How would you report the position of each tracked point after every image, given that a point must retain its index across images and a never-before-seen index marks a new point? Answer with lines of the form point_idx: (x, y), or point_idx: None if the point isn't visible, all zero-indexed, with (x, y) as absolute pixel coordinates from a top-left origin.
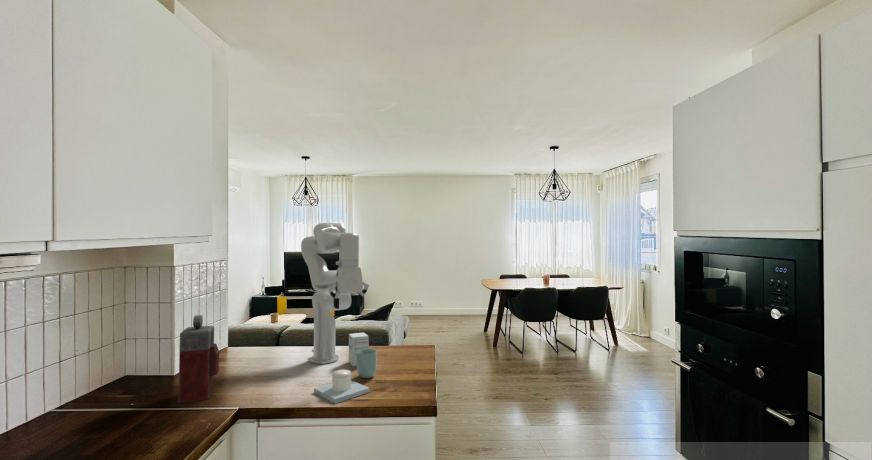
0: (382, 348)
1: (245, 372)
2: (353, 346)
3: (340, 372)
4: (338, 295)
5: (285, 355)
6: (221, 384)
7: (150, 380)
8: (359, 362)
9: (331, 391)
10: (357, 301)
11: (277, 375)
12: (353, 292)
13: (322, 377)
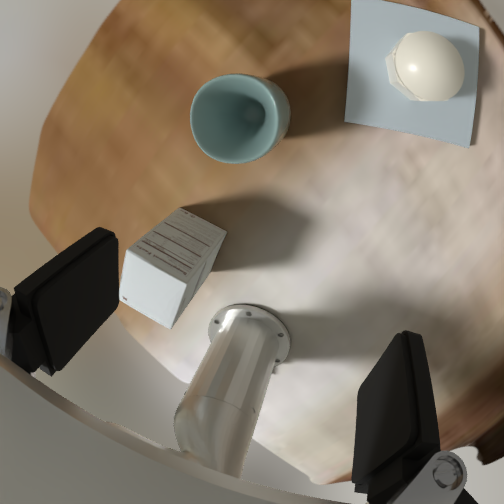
0: None
1: None
2: (198, 262)
3: (434, 70)
4: (419, 494)
5: (291, 417)
6: (496, 370)
7: (497, 440)
8: (286, 113)
9: None
10: (94, 327)
11: None
12: (95, 424)
13: (361, 228)
